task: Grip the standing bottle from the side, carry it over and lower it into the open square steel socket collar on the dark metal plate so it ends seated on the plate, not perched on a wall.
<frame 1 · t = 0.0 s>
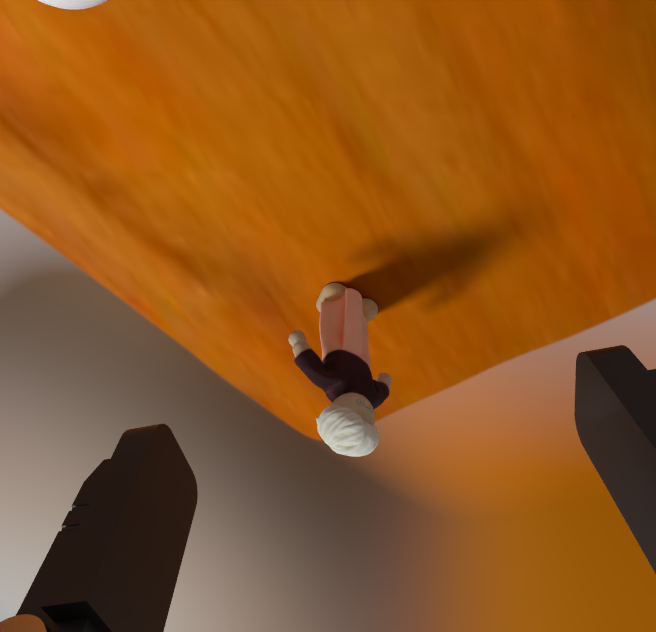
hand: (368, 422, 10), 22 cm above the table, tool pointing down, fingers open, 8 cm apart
grandmother figurine: (340, 299, 37), on the table
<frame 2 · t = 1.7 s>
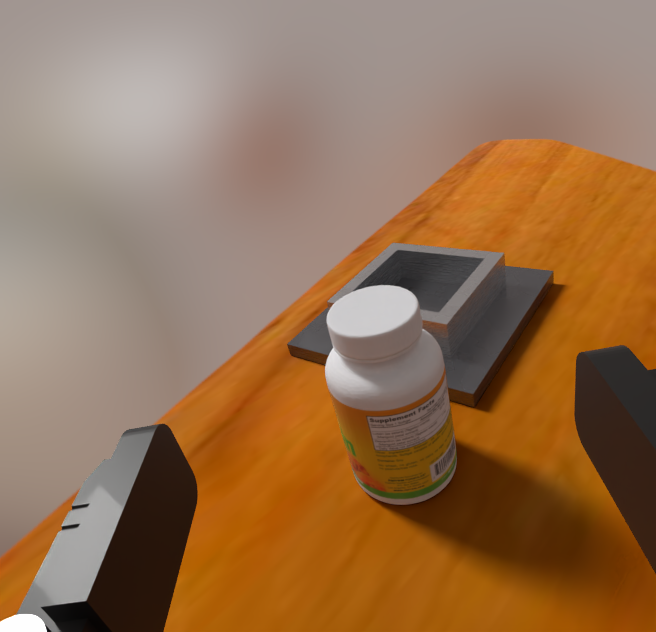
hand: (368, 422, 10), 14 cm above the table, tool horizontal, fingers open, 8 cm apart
socket plate: (422, 319, 38), on the table
supplement bottle: (405, 466, 27), on the table
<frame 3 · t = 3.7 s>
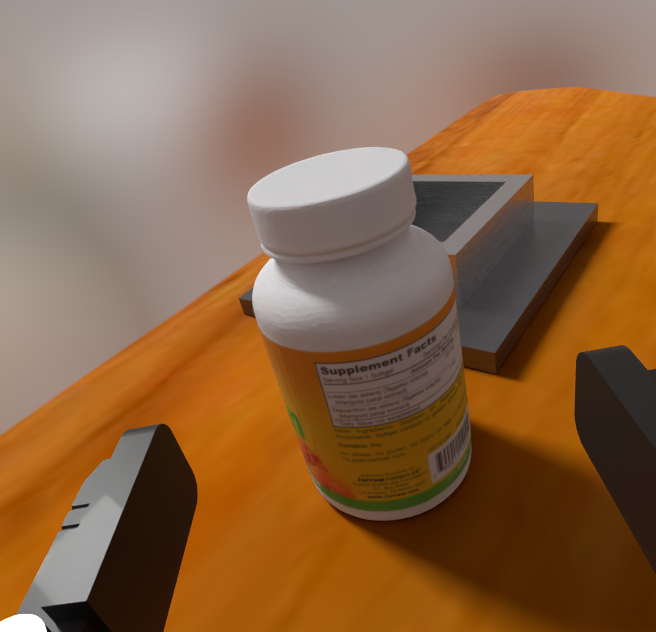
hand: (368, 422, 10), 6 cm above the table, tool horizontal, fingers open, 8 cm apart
socket plate: (421, 267, 28), on the table
supplement bottle: (390, 460, 17), on the table
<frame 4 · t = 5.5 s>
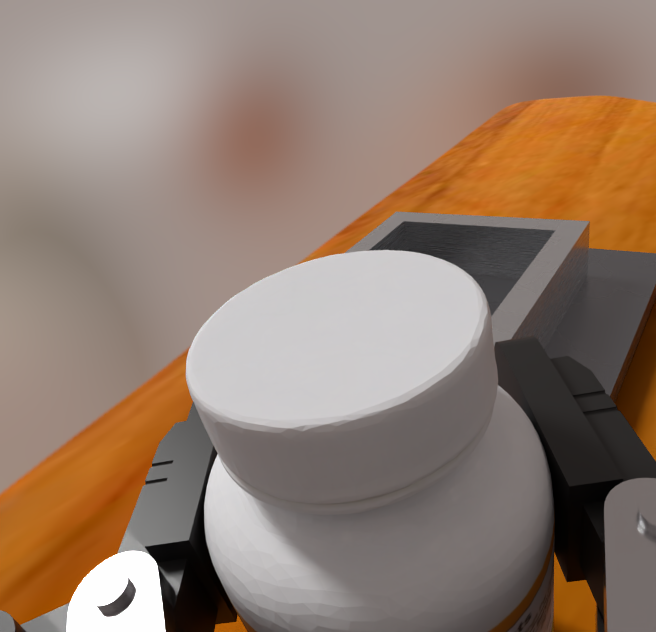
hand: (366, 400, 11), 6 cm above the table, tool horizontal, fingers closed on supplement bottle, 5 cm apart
socket plate: (445, 333, 22), on the table
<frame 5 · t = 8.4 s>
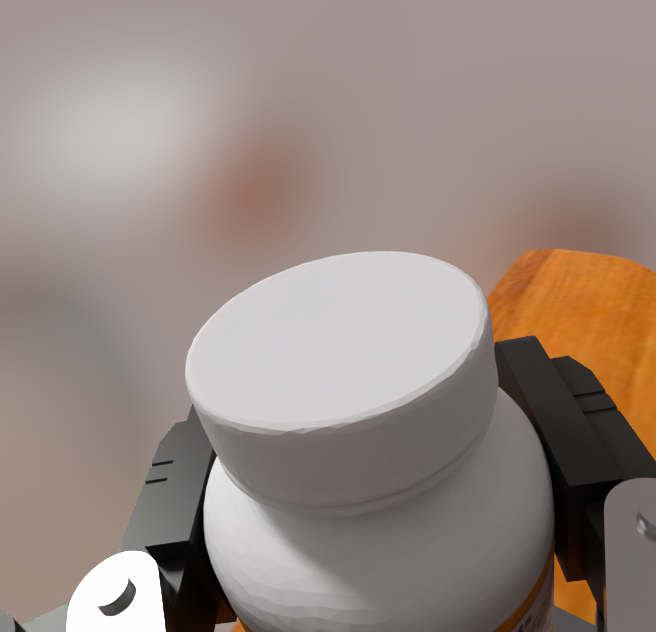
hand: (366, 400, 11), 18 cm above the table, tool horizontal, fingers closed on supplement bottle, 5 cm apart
when the fingers open (9 cm above the table, at t = 11.4 s): supplement bottle drops 1 cm, resting on socket plate.
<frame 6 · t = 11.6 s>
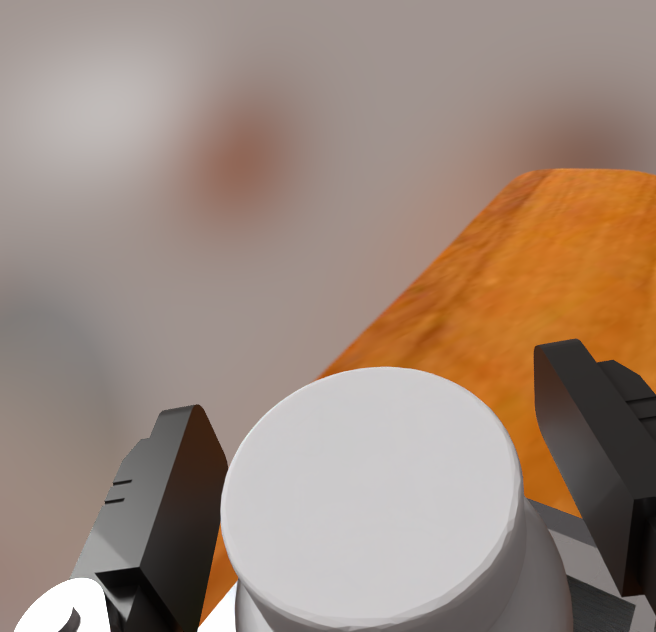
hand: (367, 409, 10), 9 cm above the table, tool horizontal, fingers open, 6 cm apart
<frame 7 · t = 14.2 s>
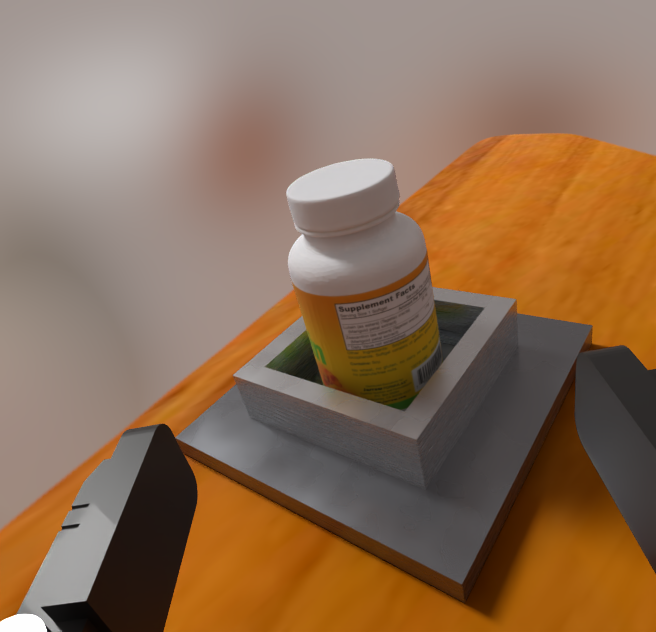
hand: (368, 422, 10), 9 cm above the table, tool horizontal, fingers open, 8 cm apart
socket plate: (387, 397, 24), on the table
supplement bottle: (385, 386, 24), point 1 cm above the table, touching socket plate
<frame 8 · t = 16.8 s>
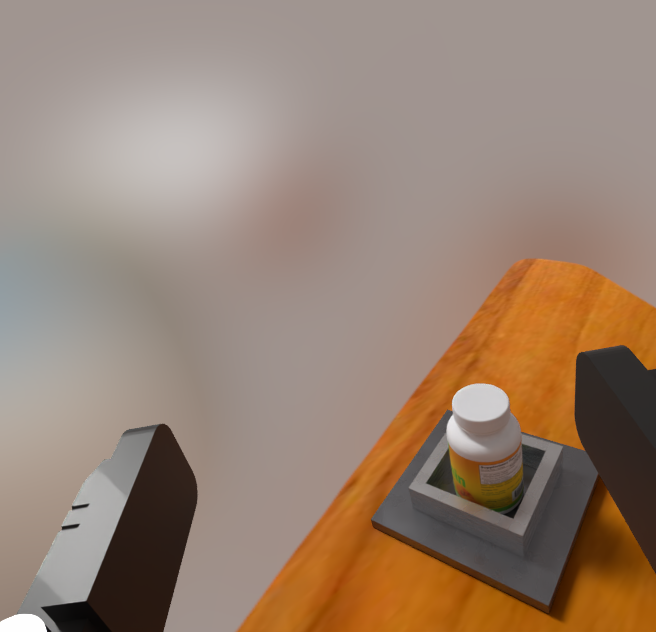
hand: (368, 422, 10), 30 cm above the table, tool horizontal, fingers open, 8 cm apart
socket plate: (488, 496, 43), on the table
supplement bottle: (488, 491, 42), point 1 cm above the table, touching socket plate
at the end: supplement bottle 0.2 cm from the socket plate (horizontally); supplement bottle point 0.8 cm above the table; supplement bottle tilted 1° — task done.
